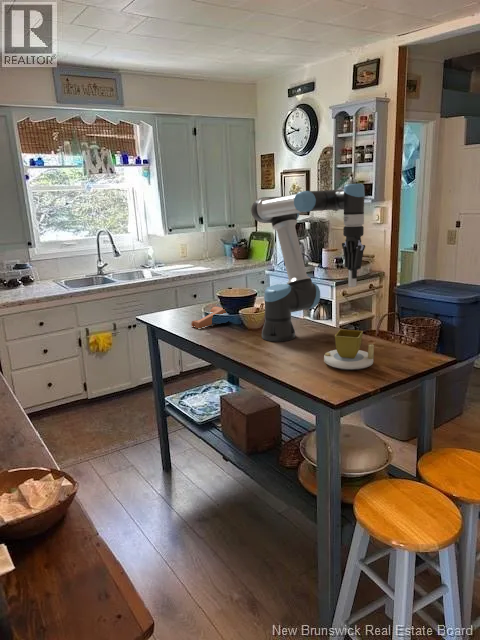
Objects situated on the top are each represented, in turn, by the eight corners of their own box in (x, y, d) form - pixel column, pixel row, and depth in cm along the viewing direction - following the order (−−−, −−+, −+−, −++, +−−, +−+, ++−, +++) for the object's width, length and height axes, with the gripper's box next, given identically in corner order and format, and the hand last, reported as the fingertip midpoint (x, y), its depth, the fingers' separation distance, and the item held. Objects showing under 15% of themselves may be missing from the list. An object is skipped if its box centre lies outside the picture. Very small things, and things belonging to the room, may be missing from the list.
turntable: (328, 351, 189) (328, 335, 187) (375, 354, 183) (375, 338, 181) (320, 366, 173) (320, 349, 171) (371, 371, 167) (371, 353, 165)
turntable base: (324, 361, 182) (324, 358, 182) (353, 356, 186) (353, 353, 186) (342, 372, 170) (342, 369, 170) (373, 367, 174) (373, 364, 174)
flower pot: (358, 361, 172) (358, 337, 170) (334, 358, 176) (334, 335, 173) (362, 353, 180) (363, 330, 178) (339, 351, 183) (339, 329, 181)
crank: (221, 319, 251) (221, 305, 249) (231, 322, 245) (230, 307, 243) (190, 327, 239) (189, 312, 237) (199, 330, 233) (198, 314, 231)
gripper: (336, 225, 186) (335, 284, 192) (354, 227, 174) (353, 290, 180) (352, 224, 189) (351, 282, 195) (372, 225, 177) (370, 288, 183)
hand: (352, 286), depth 188 cm, fingers closed
